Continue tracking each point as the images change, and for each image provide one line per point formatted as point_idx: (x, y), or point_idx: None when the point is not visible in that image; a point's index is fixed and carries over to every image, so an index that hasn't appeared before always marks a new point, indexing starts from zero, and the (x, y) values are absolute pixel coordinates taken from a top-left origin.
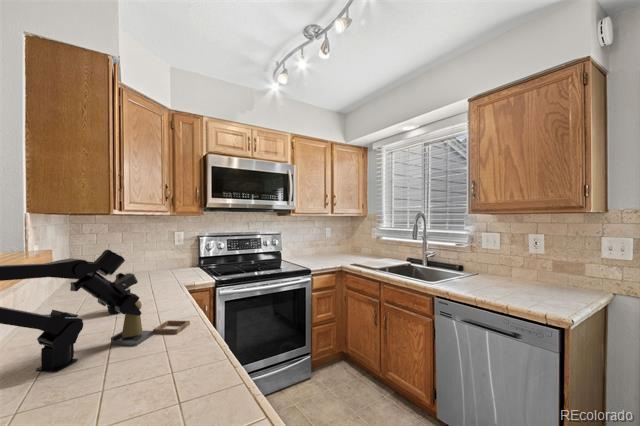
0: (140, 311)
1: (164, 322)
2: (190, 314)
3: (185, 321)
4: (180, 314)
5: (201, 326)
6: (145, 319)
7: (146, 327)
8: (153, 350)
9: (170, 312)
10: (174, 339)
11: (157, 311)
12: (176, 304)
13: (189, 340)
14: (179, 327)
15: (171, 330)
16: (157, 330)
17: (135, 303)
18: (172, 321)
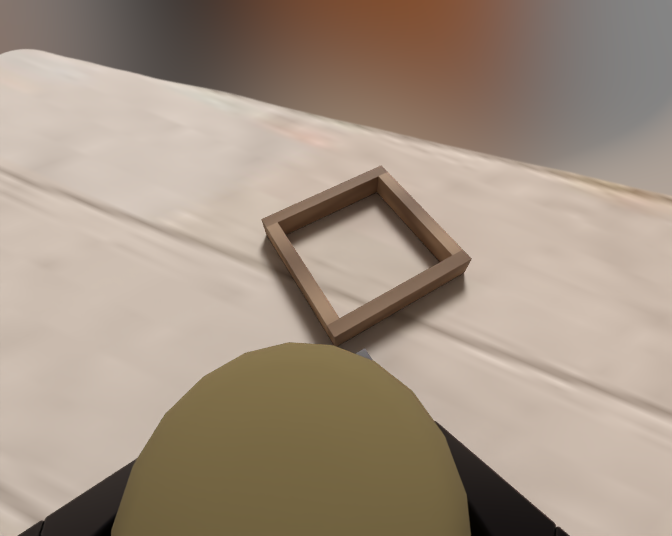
0: (456, 440)
1: (275, 243)
2: (240, 124)
3: (370, 179)
4: (191, 144)
5: (451, 165)
6: (54, 265)
7: (189, 322)
8: (660, 492)
9: (109, 154)
10: (542, 317)
11: (17, 178)
12: (39, 98)
13: (617, 278)
14: (441, 234)
15: (441, 277)
16: (362, 324)
17: (458, 521)
18: (301, 212)
